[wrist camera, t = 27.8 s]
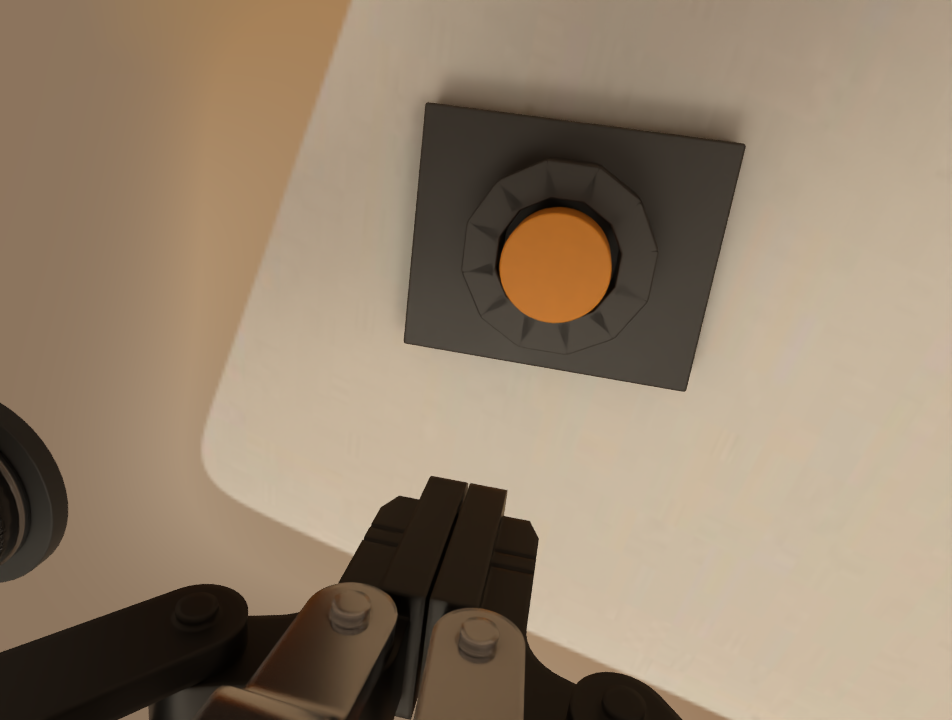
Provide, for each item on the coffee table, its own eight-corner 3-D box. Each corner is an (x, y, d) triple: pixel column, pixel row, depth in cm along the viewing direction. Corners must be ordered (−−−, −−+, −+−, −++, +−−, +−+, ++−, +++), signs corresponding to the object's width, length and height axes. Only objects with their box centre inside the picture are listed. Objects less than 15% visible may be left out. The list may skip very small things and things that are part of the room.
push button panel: (413, 331, 29) (390, 358, 26) (435, 103, 26) (411, 100, 23) (681, 377, 28) (691, 411, 24) (737, 142, 25) (758, 145, 21)
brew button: (499, 301, 25) (492, 314, 23) (513, 199, 24) (507, 204, 22) (600, 317, 24) (600, 332, 23) (620, 214, 23) (621, 221, 22)
